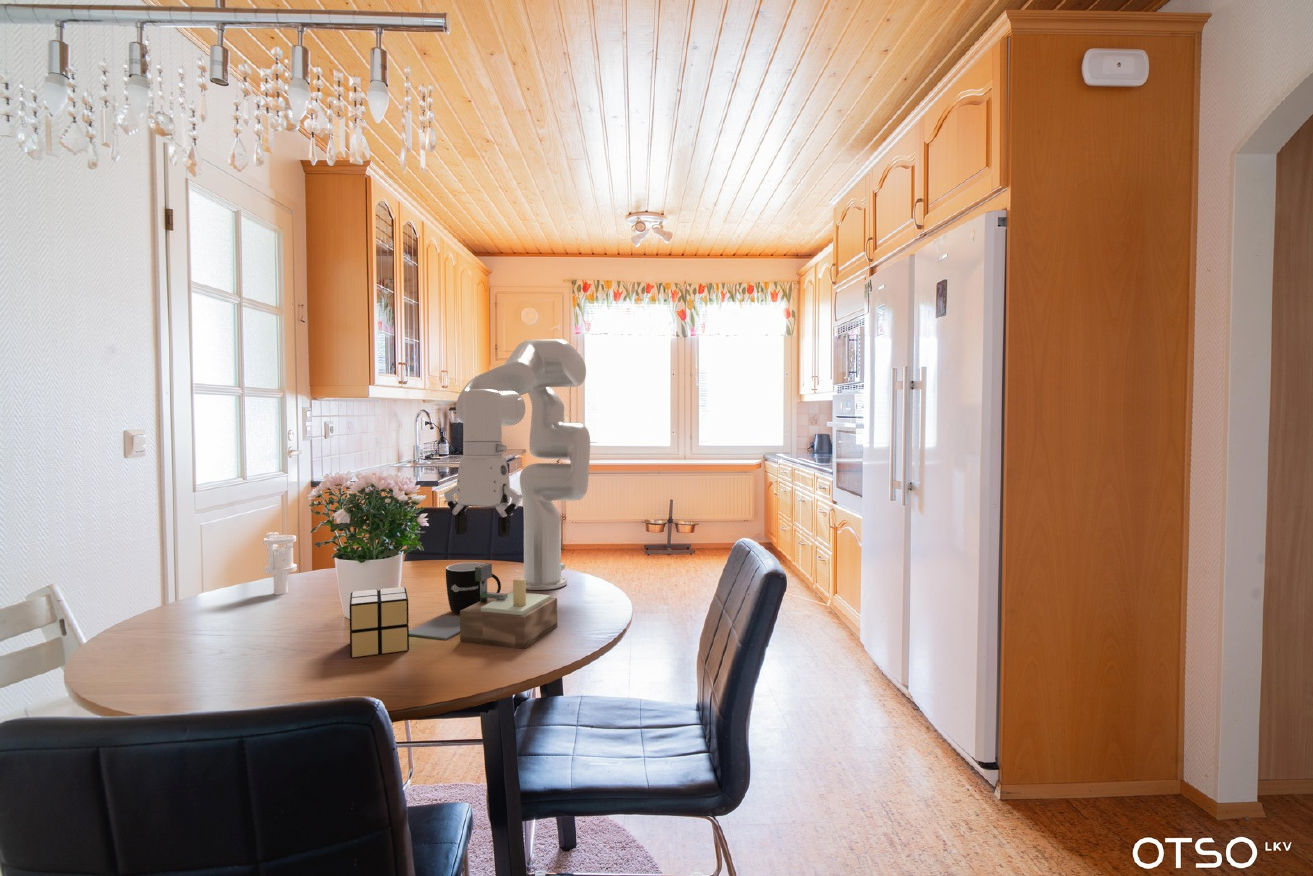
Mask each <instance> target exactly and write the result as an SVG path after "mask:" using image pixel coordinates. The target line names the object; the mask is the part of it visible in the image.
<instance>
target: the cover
mask: <svg viewBox="0 0 1313 876" xmlns="http://www.w3.org/2000/svg"><path fill="white" fill-rule="evenodd" d="M523 578H524V577H521V578H513V581H512V583H513V584H512V587H513V588H512V589H513V591H510V592H508V593H506V594H507V598H506V599H496V600H494V601H492V602H490V603H488V604H486V605H484V606H482V607H481V611H483V612H493V613H503V614H513V615H524V614H526V613H527V612H529V611H531V610H533V609H534V608H536V607H538V606H539V605H541V604H543V603H545V602H546V601H548V600H550V599H551V598H552V597H551V595H550V594H540V593H530V592H529V593H528V592H527V589H526V579H523Z"/></svg>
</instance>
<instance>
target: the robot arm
mask: <svg viewBox="0 0 1313 876" xmlns="http://www.w3.org/2000/svg"><path fill="white" fill-rule="evenodd" d="M586 376H587V368H586V363H585V360H584V359H583V357H582V355H581V354H580V353H579V352H578V350H577V349H576V348H575V347H574V346H573V345H572V344H571V343H569V342H568V341H566V340H564V339H559V338H558V339H556V338H551V339H544V338H543V339H528V340H524V341H522V342H521V343H519V344H518V345H517V346H516V347H515V349H514V350H513V351H512V352H511V354H510V356H509V357H508V358H507V360H506V361H505V362H504V364H502V365H498V366H497V367H494V368H492V369H489V370H488V371H485V372H483V373H480V374H478V375H476V376H475V377H473V378H472V379H471V380H470V381H468V382H467V383H466V385H464V388H463V389H462V390H461V392H460V393H459V396H458V397H457V400H456V404H455V410H456V411H455V412H456V416H457V418H458V420H459V421H460V422H461V423H462V425H463V427H462V428H463V431H462V432H463V434H462V436H463V437H462V438H463V442H462V443H463V444H462V445H463V446H462V447H463V450H462V452H463V453H462V454H463V455H462V456H461V457H460V459H459V464H458V471H457V479H456V485H455V486H453V487H452V488H450V489H448V490H447V491H444V493H443V496H444V498H445V500H446V503H447V507H448V508H449V509H450V510H451V511H452V512H451V513H452V515H454V517H455V518H454V527H455V534H456V536H457V535H458V536H459V535H464V534H467V533H468V513H466V511H467V510H468V508H469V507H475V508H476V507H477V508H495V509H496V511H497V512H498V513H499V514H500V516H498V519H497V522H498V523H497V526H498V527H497V536H498V538H504V537H508V536H509V535H510V531H511V516H513V514H514V512H515V511H517V509H518V508H519V504H520V503H521V501H522V504H523V505H522V506H523V507H522V508H523V577H522V578H523V579H526V590H530V591H531V590H532V591H548V590H554V589H560V588H563V587H564V586H566V585H567V584H568V579H567V577H565V576H562V571H563V570H565V569H566V565H565V563H563V562H562V518H561V514H560V512H559V510H558V508H557V507H556V506H555V504H554V503H553V502H554V501H565V502H566V501H567V502H569V501H573V502H574V501H580V500H582V499H584V498H585V496H586V495H587V491H588V487H589V475H590V474H589V473H590V460H591V459H590V458H591V457H590V456H591V435H590V433H589V429H588V428H587V426H586V425H584V424H582V423H575V422H564V419H565V404H564V402H563V400H562V399H561V398H560V397H559V394H557V392H556V391H555V390H554V389H553V388H576V387H580V386H581V385H582V384H583V383H584V382H585V379H586ZM525 394H527V395H528V397H529V399H530V403H531V417H530V420H531V421H530V428H529V429H530V431H529V440H528V442H529V445H528V446H529V452H530V454H531V455H532V456H533V457H535V458H537V459H542V460H545V459H546V460H569V462H570V463H555V462H552V463H551V462H549V463H548V462H545V463H544V462H542V463H541V462H539V463H536V462H535V463H532V464H531V463H530V464H528V465H526V466H524V467H523V468H522V469H521V472H520V474H519V487H520V491H521V493H520V492H518V491H517V490H515V489H513V488H511V486H510V485H511V484H510V475H509V467H508V462H507V458H506V457H503V456H502V455H503V452H504V453H505V452H507V450H508V446H507V445H506V444H503V441H502V440H503V439H502V438H503V437H502V432H503V431H502V429H503V428H502V427H507V426H509V427H510V426H515V425H517V424H519V423H520V422H521V421H522V420H523V419H524V417H525V414H526V403H525V401H524V398H523V397H522V396H523V395H525ZM455 495H456V497H455ZM510 501H511V502H510Z"/></svg>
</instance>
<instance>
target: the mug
mask: <svg viewBox="0 0 1313 876" xmlns="http://www.w3.org/2000/svg"><path fill="white" fill-rule="evenodd" d="M482 564H485V563H482V562H474V561H472V562H471V561H470V562H467V561H466V562H458V563H457V562H456V563H453V564H450V565H447V566H446V567H445V582H446V583H445V585H446V593H447V599H448V605H449V608H450V610H451V612H452V613H453V614H455V615H459V616H460V611H461V610H463V609H465V608H467V607H469V606H471V605H473V604H475V603H478V602H480V581H475V567H477V566H480V565H482ZM491 578H493V579H494V580H495V582H496V585H497V591H496V592H495V593H501V590H502V584H501V580H500V579H499V577H498V576H497V575H495V573H492V577H491Z"/></svg>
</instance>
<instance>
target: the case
mask: <svg viewBox="0 0 1313 876" xmlns="http://www.w3.org/2000/svg"><path fill="white" fill-rule="evenodd" d="M494 600H496V599H494V598H487V602H478V603H475V604H473V605H471V606H469V607H467V608H465V609H463V610H461V611H460V615H459V617H460V633H459V642H461V643H471V644H477V645H478V644H479V645H488V646H496V647H497V646H498V647H503V648H513V649H514V648H515V649H523V650H525V649H527V648H528V647H530V646H531V645H532V644H534V643H536V642H537V641H538V640H540V639H542V638H543V637H544V636H546V635H548V634H549V633H550V632H552V631H553V630H555V629H556V628H558V598H556V597H551V599H550V600H548V601H546V602H545V603H543V604H541V605H539V606H538V607H536V608H534V609H533V610H531V611H529V612H527V613H526V614H524V615H513V614H503V613H493V612H483V611H481V607H482V606H484V605H486V604H488V603H490V602H492V601H494Z"/></svg>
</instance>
